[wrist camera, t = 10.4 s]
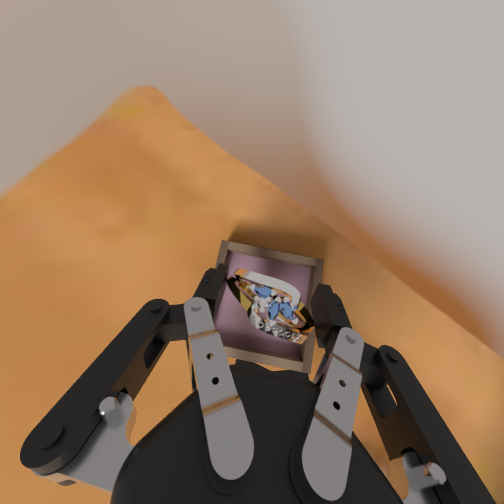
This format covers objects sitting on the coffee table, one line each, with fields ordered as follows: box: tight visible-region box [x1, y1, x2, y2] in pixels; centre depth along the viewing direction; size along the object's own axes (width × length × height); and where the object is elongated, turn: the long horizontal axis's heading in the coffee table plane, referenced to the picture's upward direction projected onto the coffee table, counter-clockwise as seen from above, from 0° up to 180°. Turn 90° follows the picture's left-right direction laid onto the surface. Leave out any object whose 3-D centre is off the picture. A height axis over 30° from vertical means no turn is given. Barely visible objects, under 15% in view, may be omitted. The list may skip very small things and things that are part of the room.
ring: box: [226, 268, 315, 344], centre depth 14 cm, size 7×3×8 cm, turn 46°
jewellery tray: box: [214, 240, 323, 374], centre depth 21 cm, size 11×11×2 cm
